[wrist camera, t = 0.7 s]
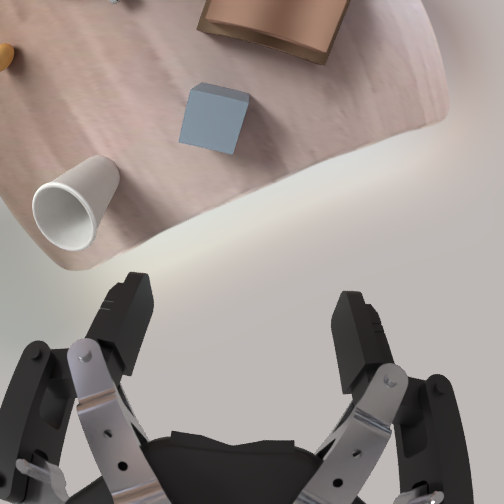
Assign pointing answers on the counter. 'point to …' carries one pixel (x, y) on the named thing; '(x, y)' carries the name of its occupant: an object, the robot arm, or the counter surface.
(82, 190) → the dixie cup
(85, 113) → the counter surface
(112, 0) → the robot toy
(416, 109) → the counter surface
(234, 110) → the slate brick
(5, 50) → the figurine
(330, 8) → the wooden stepped block
